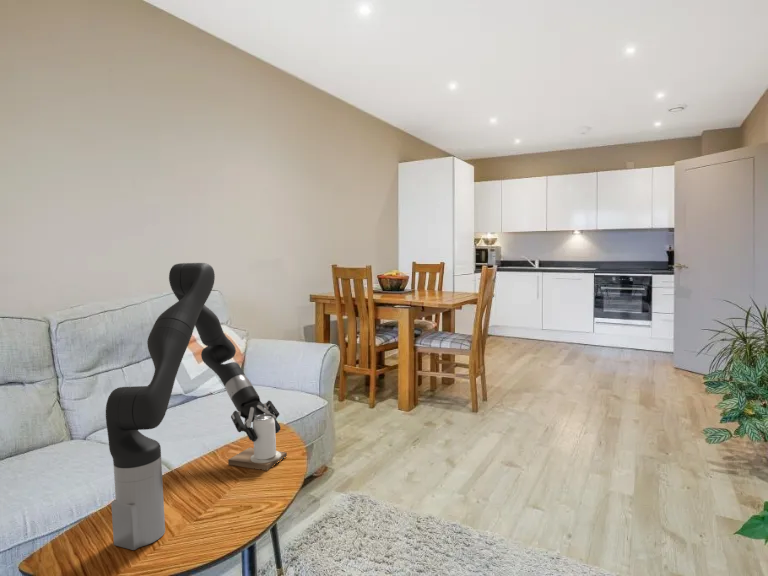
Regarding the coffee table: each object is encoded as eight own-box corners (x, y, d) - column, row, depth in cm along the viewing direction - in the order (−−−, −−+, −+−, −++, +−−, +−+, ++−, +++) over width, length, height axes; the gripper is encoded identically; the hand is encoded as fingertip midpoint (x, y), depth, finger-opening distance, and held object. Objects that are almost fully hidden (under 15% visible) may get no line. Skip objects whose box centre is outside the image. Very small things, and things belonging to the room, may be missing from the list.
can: (267, 461, 136) (265, 421, 136) (249, 458, 139) (247, 419, 138) (280, 453, 142) (279, 414, 142) (263, 450, 145) (262, 412, 144)
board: (268, 470, 134) (268, 464, 134) (228, 464, 140) (228, 458, 140) (288, 457, 144) (287, 451, 144) (249, 451, 149) (249, 446, 149)
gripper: (226, 390, 139) (252, 435, 132) (265, 380, 150) (290, 421, 144) (217, 405, 142) (242, 450, 136) (255, 394, 154) (280, 435, 147)
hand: (267, 435), depth 140 cm, fingers open, 8 cm apart
